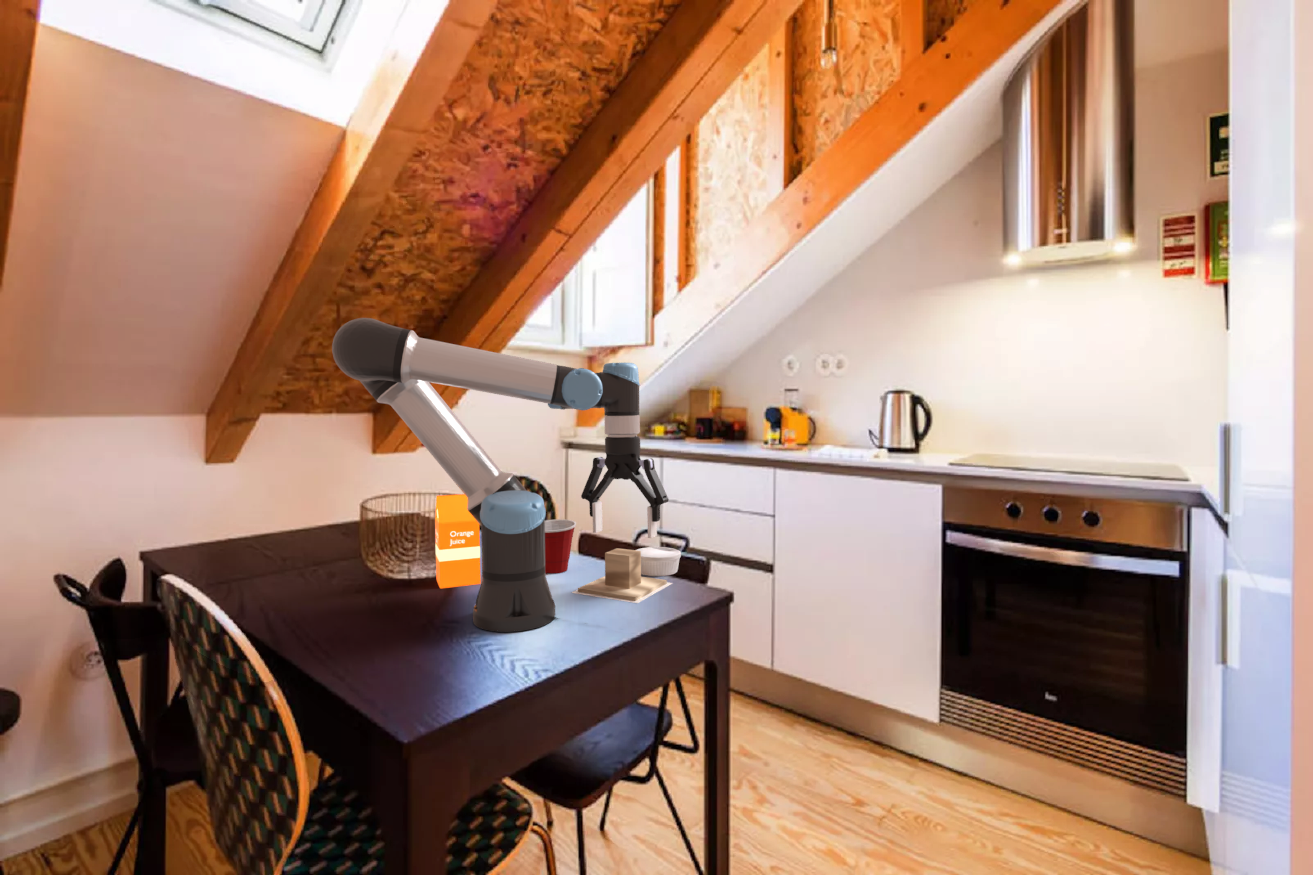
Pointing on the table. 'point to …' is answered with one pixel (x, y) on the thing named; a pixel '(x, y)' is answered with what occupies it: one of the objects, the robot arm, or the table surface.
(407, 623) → the table surface
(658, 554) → the ramekin
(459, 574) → the orange juice
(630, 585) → the birch lid
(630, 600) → the white square panel
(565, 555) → the plastic cup
